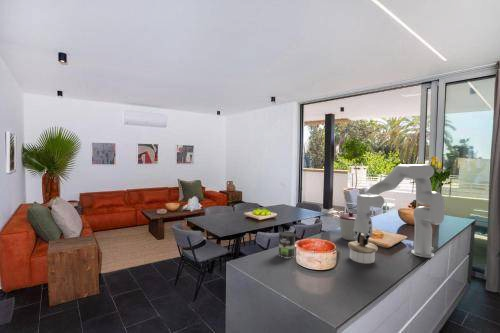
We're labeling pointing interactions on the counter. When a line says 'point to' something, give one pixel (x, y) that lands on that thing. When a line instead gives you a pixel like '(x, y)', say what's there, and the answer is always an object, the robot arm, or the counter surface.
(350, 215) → the canister
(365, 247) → the oak lid
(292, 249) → the coffee can
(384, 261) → the counter surface
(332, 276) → the counter surface
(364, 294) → the counter surface
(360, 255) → the cream bowl
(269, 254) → the counter surface
